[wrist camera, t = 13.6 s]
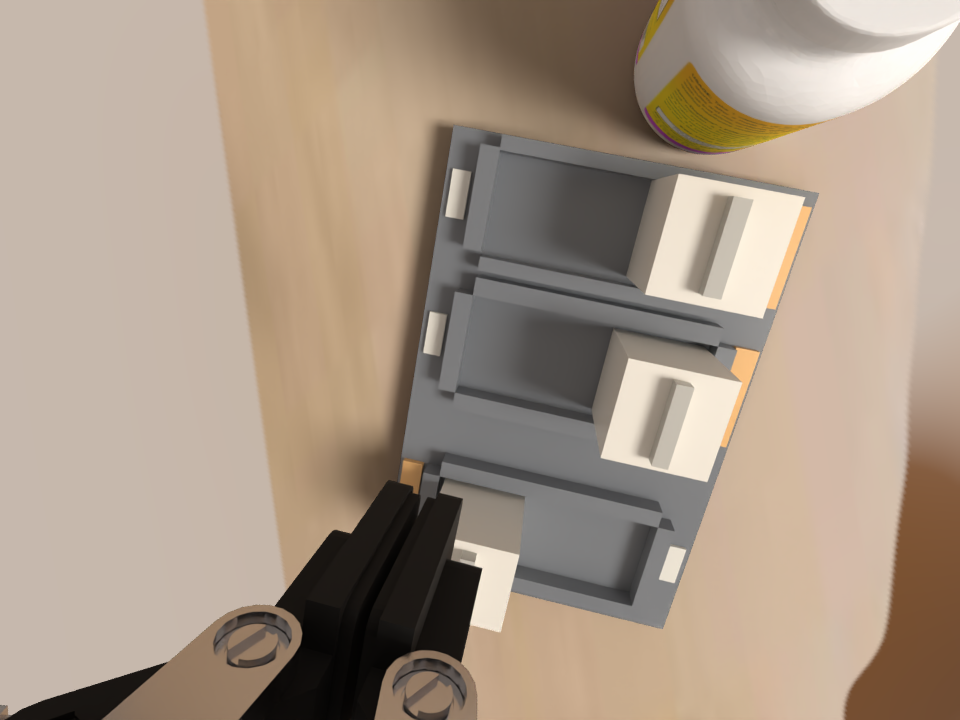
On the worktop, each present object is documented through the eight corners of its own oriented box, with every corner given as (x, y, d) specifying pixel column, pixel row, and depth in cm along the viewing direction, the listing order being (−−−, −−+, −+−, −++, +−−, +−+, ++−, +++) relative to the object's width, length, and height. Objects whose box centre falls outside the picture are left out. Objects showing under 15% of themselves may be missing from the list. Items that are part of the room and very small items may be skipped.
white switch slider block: (509, 559, 28) (499, 643, 22) (434, 540, 28) (406, 619, 23) (525, 492, 27) (518, 564, 21) (447, 474, 27) (421, 540, 22)
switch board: (658, 612, 29) (688, 729, 22) (391, 546, 30) (346, 640, 24) (805, 193, 22) (908, 189, 16) (458, 128, 24) (422, 99, 17)
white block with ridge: (677, 428, 25) (711, 490, 19) (591, 409, 25) (602, 465, 20) (703, 346, 24) (748, 388, 18) (613, 327, 24) (631, 362, 18)
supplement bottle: (807, 137, 22) (1127, 50, 10) (641, 171, 23) (741, 133, 11) (799, -49, 20) (1175, -437, 8) (621, -2, 21) (712, -276, 9)
